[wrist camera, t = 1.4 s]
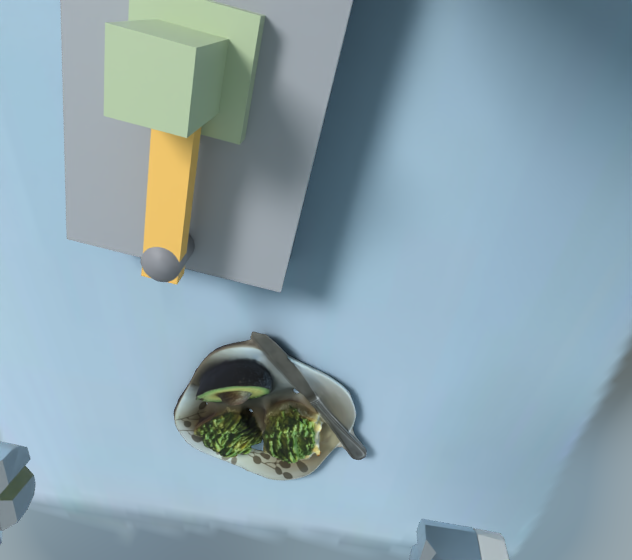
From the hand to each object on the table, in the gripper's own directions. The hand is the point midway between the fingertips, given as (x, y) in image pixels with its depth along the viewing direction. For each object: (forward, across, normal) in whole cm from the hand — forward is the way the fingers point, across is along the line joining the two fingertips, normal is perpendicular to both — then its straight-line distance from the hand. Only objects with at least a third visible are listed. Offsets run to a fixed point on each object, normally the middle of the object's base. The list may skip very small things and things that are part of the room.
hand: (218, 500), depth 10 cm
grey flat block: (+28, +9, -5) cm, 30 cm away
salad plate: (+32, +5, +24) cm, 40 cm away
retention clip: (+23, +10, +1) cm, 25 cm away
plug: (+26, +9, -7) cm, 29 cm away
